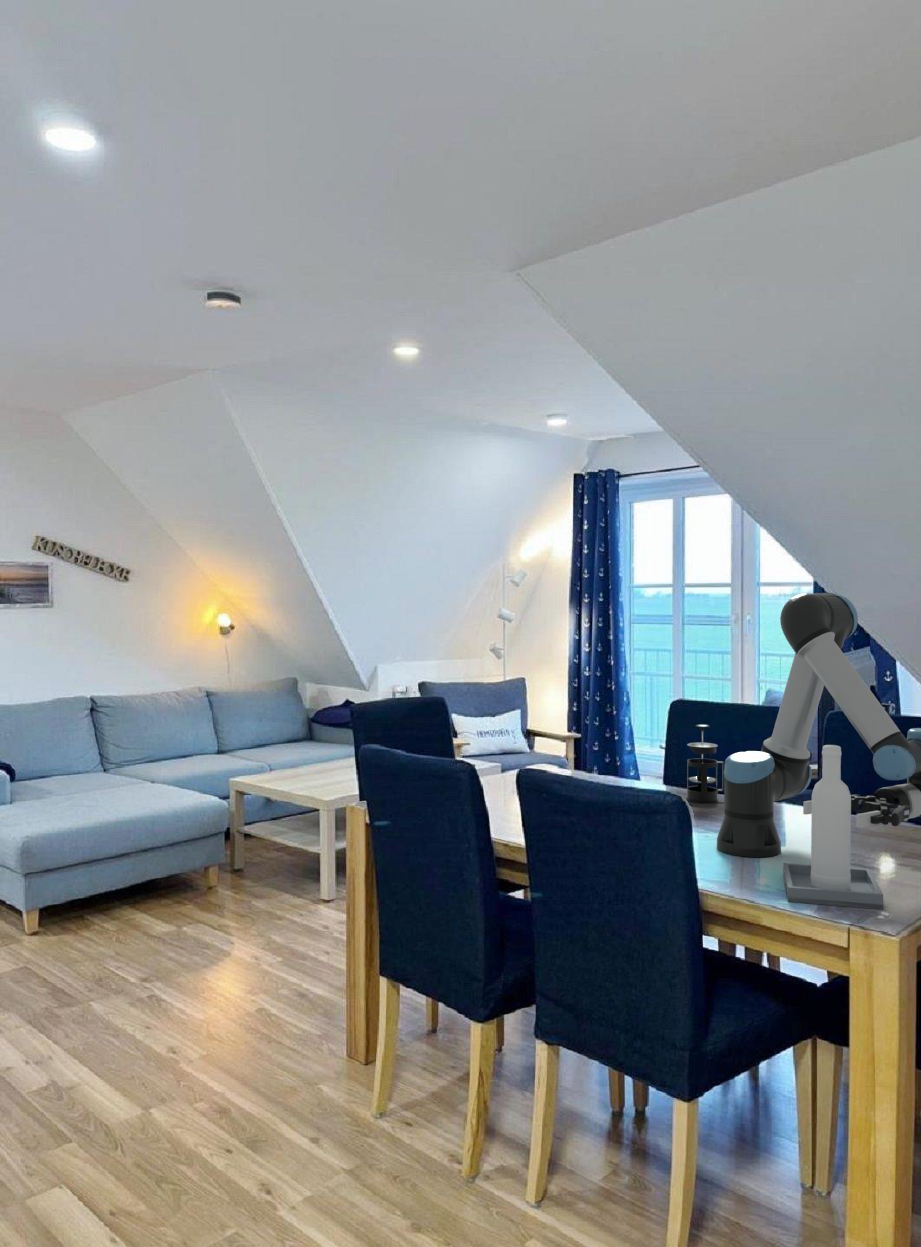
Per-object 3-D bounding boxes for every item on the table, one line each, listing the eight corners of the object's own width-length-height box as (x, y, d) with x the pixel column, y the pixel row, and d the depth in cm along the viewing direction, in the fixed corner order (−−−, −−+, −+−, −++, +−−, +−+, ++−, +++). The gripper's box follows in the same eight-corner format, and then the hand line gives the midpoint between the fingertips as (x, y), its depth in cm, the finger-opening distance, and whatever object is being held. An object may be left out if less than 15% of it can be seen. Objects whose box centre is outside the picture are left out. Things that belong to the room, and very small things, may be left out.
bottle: (859, 891, 198) (860, 748, 197) (827, 894, 196) (828, 750, 195) (833, 880, 206) (834, 742, 205) (802, 883, 204) (803, 744, 202)
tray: (787, 902, 195) (788, 887, 194) (783, 876, 212) (783, 863, 212) (883, 909, 190) (883, 894, 190) (870, 882, 207) (870, 869, 207)
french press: (685, 803, 285) (686, 726, 285) (682, 796, 295) (682, 722, 294) (726, 803, 284) (726, 727, 283) (721, 797, 293) (721, 722, 292)
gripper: (949, 832, 199) (881, 846, 189) (849, 808, 221) (784, 819, 211) (949, 796, 199) (882, 808, 189) (849, 776, 221) (784, 786, 211)
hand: (830, 814), depth 200 cm, fingers open, 13 cm apart
